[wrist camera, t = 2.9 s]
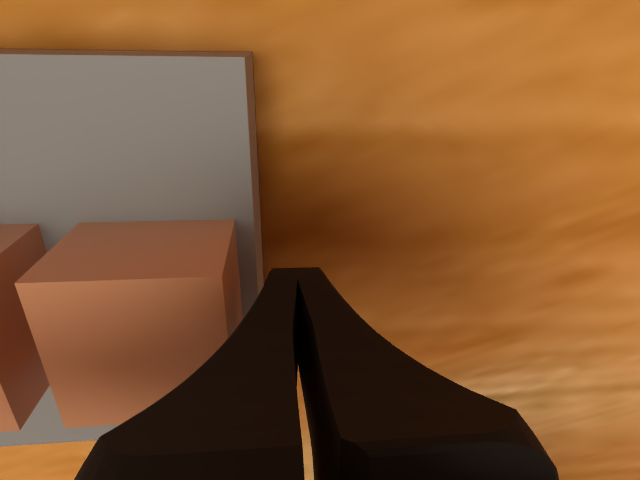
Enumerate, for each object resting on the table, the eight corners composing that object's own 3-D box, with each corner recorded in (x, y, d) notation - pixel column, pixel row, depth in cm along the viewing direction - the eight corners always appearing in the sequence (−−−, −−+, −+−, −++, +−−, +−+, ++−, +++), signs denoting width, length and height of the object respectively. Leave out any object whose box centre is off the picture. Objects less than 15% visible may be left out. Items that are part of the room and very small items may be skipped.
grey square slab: (267, 360, 18) (265, 429, 15) (-34, 375, 17) (-105, 453, 14) (252, 51, 13) (244, 57, 10) (-185, 46, 12) (-354, 49, 9)
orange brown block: (244, 338, 13) (235, 417, 10) (109, 344, 13) (64, 427, 10) (234, 219, 11) (221, 276, 9) (79, 222, 11) (14, 283, 8)
